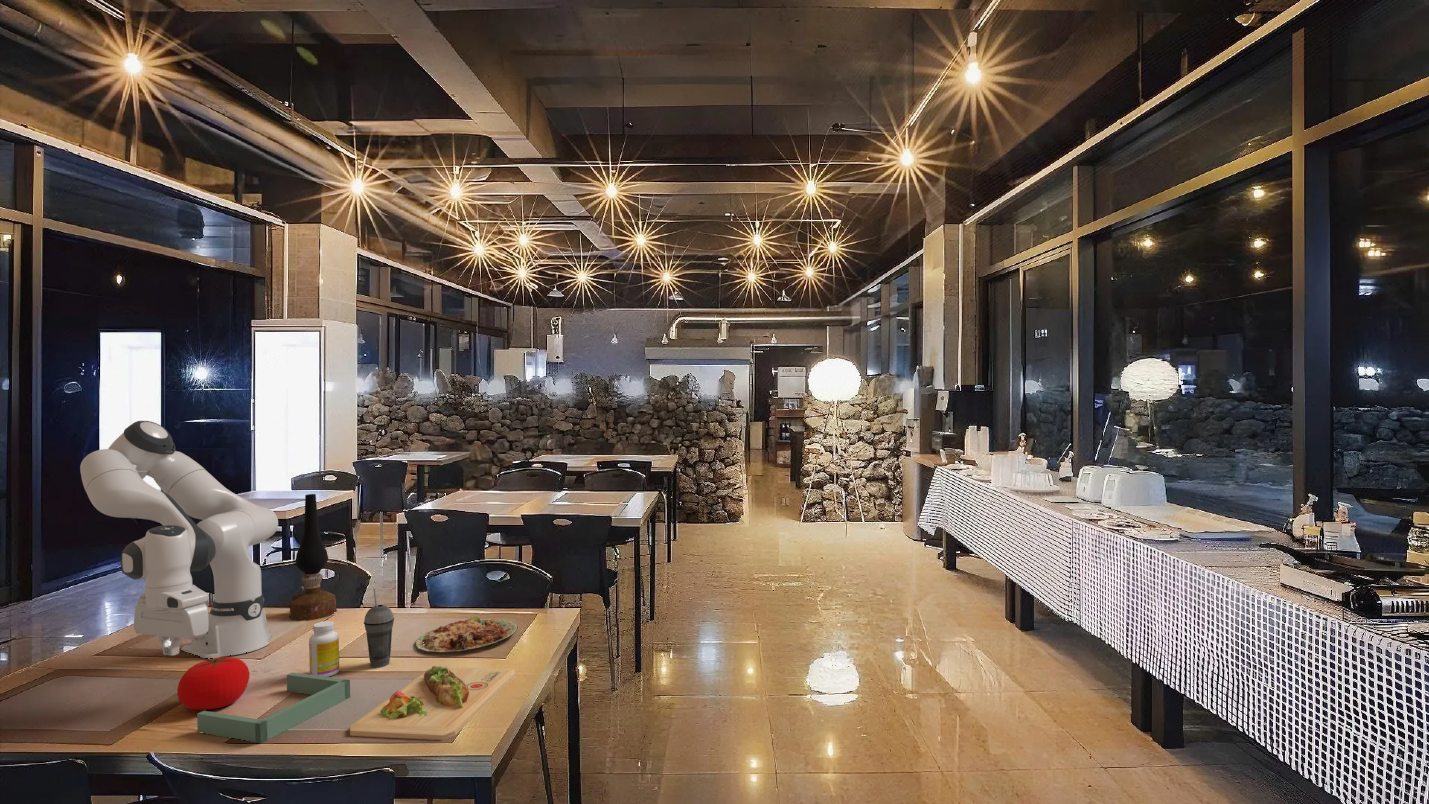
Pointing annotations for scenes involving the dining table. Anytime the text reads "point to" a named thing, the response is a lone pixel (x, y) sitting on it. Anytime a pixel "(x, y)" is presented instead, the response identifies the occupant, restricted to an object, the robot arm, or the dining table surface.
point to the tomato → (213, 683)
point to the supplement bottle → (324, 650)
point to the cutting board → (434, 703)
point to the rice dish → (466, 635)
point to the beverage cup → (379, 633)
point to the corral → (258, 731)
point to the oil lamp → (311, 570)
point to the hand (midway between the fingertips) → (171, 654)
